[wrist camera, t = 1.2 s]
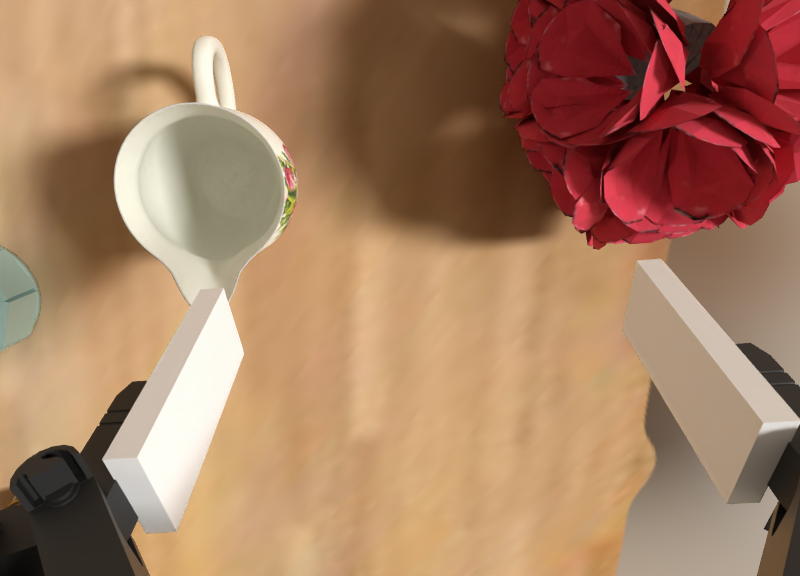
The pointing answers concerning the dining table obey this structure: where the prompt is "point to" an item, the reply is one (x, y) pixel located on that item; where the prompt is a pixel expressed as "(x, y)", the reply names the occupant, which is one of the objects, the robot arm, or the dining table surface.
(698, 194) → the bouquet
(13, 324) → the bowl
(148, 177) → the pitcher
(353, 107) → the dining table surface
